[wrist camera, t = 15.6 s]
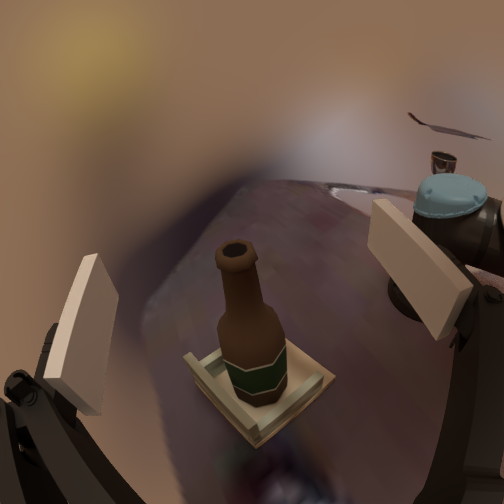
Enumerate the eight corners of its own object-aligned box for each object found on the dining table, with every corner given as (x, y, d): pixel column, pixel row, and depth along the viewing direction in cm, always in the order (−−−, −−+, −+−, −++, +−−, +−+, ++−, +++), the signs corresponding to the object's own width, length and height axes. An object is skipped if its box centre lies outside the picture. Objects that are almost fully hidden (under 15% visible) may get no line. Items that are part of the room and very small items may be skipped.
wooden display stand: (272, 331, 49) (268, 297, 44) (334, 380, 40) (341, 349, 35) (197, 385, 42) (181, 356, 37) (256, 449, 33) (248, 430, 28)
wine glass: (420, 198, 79) (426, 151, 71) (436, 194, 81) (443, 150, 72) (437, 210, 73) (445, 161, 64) (453, 205, 74) (462, 159, 65)
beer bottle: (223, 381, 41) (175, 247, 26) (265, 354, 44) (246, 215, 30) (254, 419, 35) (217, 295, 21) (299, 387, 39) (300, 249, 24)
